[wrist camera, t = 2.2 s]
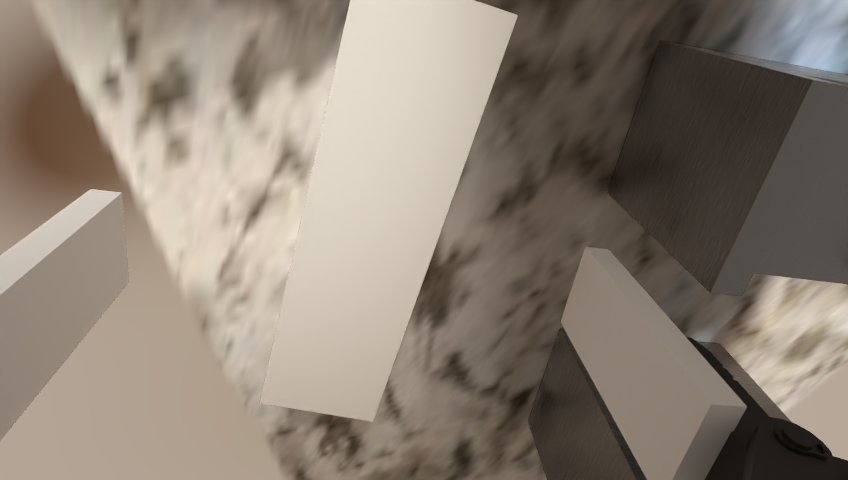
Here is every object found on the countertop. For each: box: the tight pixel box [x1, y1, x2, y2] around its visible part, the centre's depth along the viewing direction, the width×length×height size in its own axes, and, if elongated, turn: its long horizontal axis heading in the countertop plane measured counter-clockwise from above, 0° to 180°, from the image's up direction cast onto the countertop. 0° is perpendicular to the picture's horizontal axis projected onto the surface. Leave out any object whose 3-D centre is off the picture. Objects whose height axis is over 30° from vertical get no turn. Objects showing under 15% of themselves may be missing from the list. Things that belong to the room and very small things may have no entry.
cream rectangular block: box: [259, 0, 518, 422], centre depth 18 cm, size 14×4×6 cm, turn 163°
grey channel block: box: [607, 41, 848, 296], centre depth 18 cm, size 6×8×8 cm
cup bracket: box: [528, 329, 791, 480], centre depth 22 cm, size 6×8×11 cm
